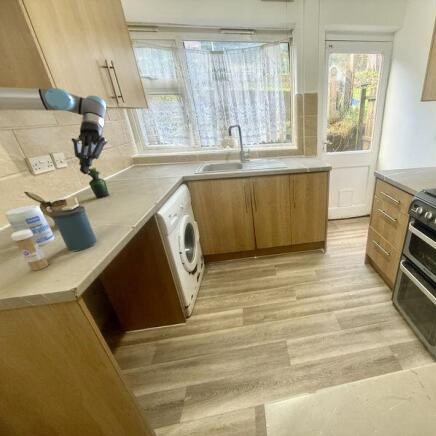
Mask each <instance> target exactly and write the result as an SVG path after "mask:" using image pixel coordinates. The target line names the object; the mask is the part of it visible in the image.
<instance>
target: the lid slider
mask: <svg viewBox="0 0 436 436" xmlns="http://www.w3.org/2000/svg"><path fill="white" fill-rule="evenodd" d="M64 199H65V200H66V202H67V206H65V207H63V208H61V209H62V210H72V209H74V208H76V207H78V206H80V204H79V202H78V199H77V197H66V198H64Z"/></svg>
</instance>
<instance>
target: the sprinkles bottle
mask: <svg viewBox="0 0 436 436" xmlns="http://www.w3.org/2000/svg"><path fill="white" fill-rule="evenodd" d="M10 237H11V239H12V240H13V241H14V242H15V244H16V245H17V247H18V249H19V251H20V252H21V254H22V256H23V258H24V260H25V262H26V263H27V265H28V266H29V267H30V268H29V269H30V270H31V271H39V270H42V269H44V268H46V267H47V266H48V265H50V263H49V261H48V260H47V258H46V257H45V254H44V252H43V250H42V249H41V246H39V245H38V243H37V242H36V240H35V238H34V237H33V233H32V231H31V230H21V231H18V232H13V233H12V234H11V235H10Z"/></svg>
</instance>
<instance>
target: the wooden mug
mask: <svg viewBox="0 0 436 436" xmlns="http://www.w3.org/2000/svg"><path fill="white" fill-rule="evenodd" d="M23 193H24V194H25V195H26V196H27V197H28V198H29V199H32V200H33V201H35V202H37V203H40V204H39V208H40V209H41V211H42V213H43V215H46V216H47V217H49V218H51V219H52V220H53V222H54V226H55V227H57V225H56V222H55V220H54V218H52V216H51V213H52V212H54V211H56V210H59V209H61V208H63V207H65V206H67V202H66V200H65V199H66V198H61V199H57V200H54V201H46V200H44V199H43V198H42V197H40V196H39V195H37V194H36V193H33V192H30V191H24V192H23ZM48 208H49V210H50V211H48V210H47V209H48Z"/></svg>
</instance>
